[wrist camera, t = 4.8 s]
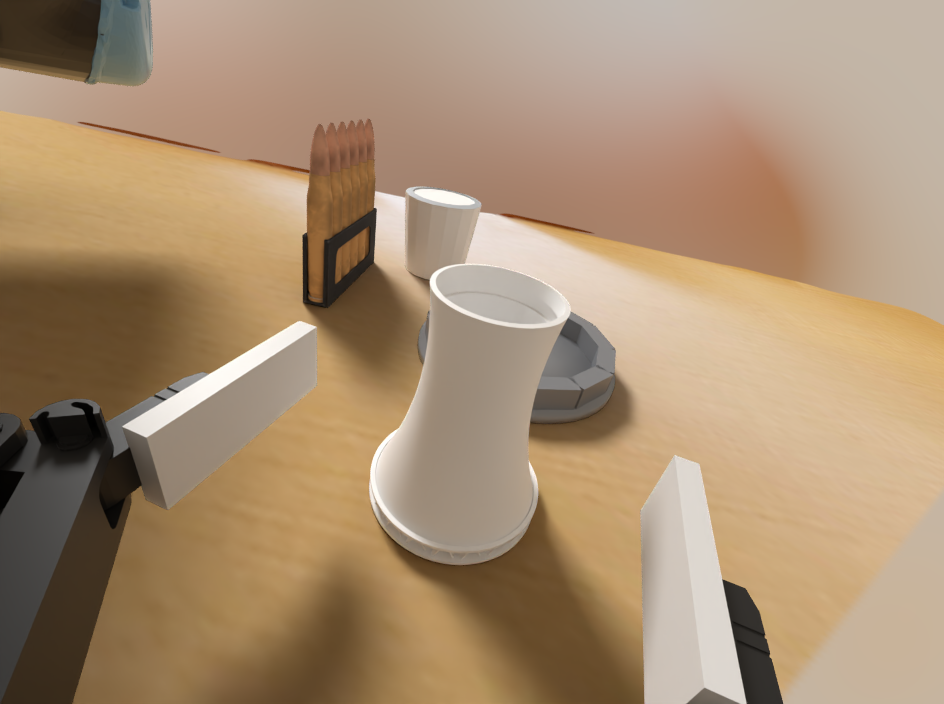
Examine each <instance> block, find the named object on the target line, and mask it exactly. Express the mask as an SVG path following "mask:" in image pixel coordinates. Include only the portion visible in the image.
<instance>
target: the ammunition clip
mask: <svg viewBox="0 0 944 704" xmlns="http://www.w3.org/2000/svg"><path fill="white" fill-rule="evenodd" d="M374 151H375V148H374V134H373V127H372V123H371V120H370V119H367V121H366V123H365V125H364V124H363V121H362V120H359V121H358V123H357V126H356V127H355V124H354V122H353V121H350V122H349V124H348V127H347V129H346V126H345V124H344V122H340V124H339V126H338V129H337V132H336V129H335V126H334V124H333V123H330V124H329V126H328V128H327V131H326V135H325V131H324V129H323V126H322V125H321V124H318V125H317V127H316V130H315V133H314V136H313V140H312V146H311V155H310V173H309V188H308V193H307V233H305V234H304V235H303V302H305V303H309V304H314V305H318V306H322V307H327V308H328V307H329V306H330V305H331V304H332V303H333V302H334V301H335V300H336V299H337V298H338V297H339V296H340V295H341V294H342V293H343V292H344V291H345V290H346V289H347V288H348V287H349V286H350V285H351V284H352V283H353V282H354V281H355V280H356V279H357V278H358V277H359V276H360V275H361V274H362V273H363V272H364V271H365V270H366V269H367V268H368V267H369V266H370V265H371V264H372V263H373V262H374V248H375V230H376V212H377V209H376V208H374V196H375V172H374Z"/></svg>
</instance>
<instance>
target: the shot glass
mask: <svg viewBox="0 0 944 704" xmlns="http://www.w3.org/2000/svg"><path fill="white" fill-rule="evenodd" d="M480 209H481V203H480V202H479V201H478V200H477V199H475V198H472V197H470V196H468V195H465V194H461V193H458V192H455V191H451V190H446V189H440V188H432V187H413V188H408V189H407V190H406V210H405V267H406V269H407V270H408V271H409V272H411V273H412V274H414V275H416V276H419V277H421V278H424V279H429V280H430V278H431V276H432V275H433V273H435V272H436V271H437V270H439V269H441V268H444V267H447V266H451V265H457V264H465V261H466V258H467V254H468V251H469V247H470V244H471V240H472V237H473V233H474V230H475V226H476V223H477V219H478V216H479V212H480Z"/></svg>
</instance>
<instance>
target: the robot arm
mask: <svg viewBox="0 0 944 704" xmlns="http://www.w3.org/2000/svg"><path fill="white" fill-rule="evenodd" d="M152 65H153V43H152V21H151V7H150V0H0V67H2V68H8V69H14V70H19V71H25V72H31V73H36V74H42V75H48V76H53V77H59V78H65V79H70V80H76V81H82V82H85V83H86V84H92V85H93V84H96V83H97V82H99V83H108V84H117V85H125V86H139V85H141V84H143V83H145V82H146V81H147V80H148V79H149V77H150V75H151V71H152ZM316 386H317V327H315V326H312V325H310V324H307V323H304V322H301V321H298V322H296V323H295V324H293V325H291V326H289V327H288V328H286V329H284V330H283V331H281V332H279V333H278V334H276V335H274V336H273V337H271V338H269V339H268V340H266V341H264V342H263V343H261V344H259V345H258V346H256V347H254V348H253V349H251V350H249V351H248V352H246V353H244V354H243V355H241V356H239V357H237V358H236V359H234V360H232V361H231V362H229V363H227V364H226V365H224V366H222V367H221V368H219V369H217V370H216V371H214V372H212V373H211V374H207V373H204V372H201V373H198V374H195V375H192V376H188V377H185V378H183V379H181V380H179V381H178V382H176V383H174V384H172V385H170V386H169V387H168V388H167V389H163V390H162V391H160V392H158V393H156V394H155V396H154V397H152V396H151V397H149V398H148V399H146V400H144V401H142V402H141V403H139V404H137V405H135V406H134V407H132V408H130V409H128V410H127V411H125V412H123V413H121V414H120V415H118V416H116V417H114V418H113V419H111V420H109V421H107V422H106V423H105V420H104V417H103V414H102V411H101V409H100V406H99V405H98V404H97V403H96V402H94V401H91V400H88V399H70V400H64V401H59V402H56V403H53V404H50V405H47V406H46V407H44V408H42V409H40V410H38V411H37V412H35V413H34V414H33V415H32V416H31V417H30V418H29V420H30V422H31V424H32V426H33V429H34V431H31V430H25V428H24V426H23V424H22V422H21V420H20V419H19V418H18V417H16V416H15V415H13V414H7V413H0V704H72V702H73V699H74V696H75V692H76V689H77V685H78V682H79V679H80V675H81V672H82V668H83V665H84V662H85V658H86V655H87V652H88V648H89V645H90V641H91V638H92V635H93V631H94V628H95V624H96V621H97V618H98V614H99V611H100V608H101V604H102V601H103V597H104V594H105V591H106V587H107V584H108V580H109V577H110V574H111V570H112V567H113V564H114V560H115V557H116V553H117V550H118V547H119V543H120V540H121V536H122V533H123V530H124V526H125V523H126V520H127V516H128V513H129V509H130V506H131V494H130V493H132V492H133V491H134V490H136V489H137V488H139V487H140V486H142V490H143V493H144V496H145V499H146V500H147V501H150V502H152V503H154V504H156V505H158V506H160V507H162V508H164V509H166V510H169V509H170V508H171V507H173V506H174V505H175V504H176V503H177V502H178V501H180V500H181V499H182V498H183V497H184V496H186V495H187V494H188V493H189V492H190V491H192V490H193V489H194V488H195V487H196V486H198V485H199V484H200V483H201V482H202V481H204V480H205V479H206V478H207V477H208V476H210V475H211V474H212V473H213V472H214V471H216V470H217V469H218V468H219V467H220V466H222V465H223V464H224V463H225V462H226V461H228V460H229V459H230V458H231V457H232V456H233V455H235V454H236V453H237V452H238V451H239V450H241V449H242V448H243V447H244V446H245V445H247V444H248V443H249V442H250V441H251V440H253V439H254V438H255V437H256V436H257V435H259V434H260V433H261V432H262V431H263V430H265V429H266V428H267V427H268V426H269V425H271V424H272V423H273V422H274V421H275V420H277V419H278V418H279V417H280V416H281V415H283V414H284V413H285V412H286V411H287V410H288V409H290V408H291V407H292V406H293V405H294V404H296V403H297V402H298V401H299V400H300V399H302V398H303V397H304V396H305V395H306V394H308V393H309V392H310V391H311V390H312V389H314V388H315V387H316ZM640 515H641V561H642V607H643V654H644V700H645V704H783V701H782V697H781V693H780V689H779V686H778V682H777V678H776V674H775V670H774V666H773V663H772V659H771V658H770V657H769V655H770V651H769V647H768V643H767V639H765V632H764V628H763V624H762V620H761V616H760V613H759V610H758V609H757V607H756V605H755V604H754V602H753V600H752V599H751V597H750V595H749V594H748V592H747V590H746V589H745V588H743V587H740V586H738V585H735V584H733V583H730V582H728V581H725V580H723V579H722V576H721V571H720V566H719V561H718V556H717V551H716V546H715V541H714V536H713V531H712V526H711V521H710V515H709V510H708V505H707V500H706V495H705V490H704V485H703V480H702V475H701V470H700V465H699V464H698V463H695V462H692V461H690V460H687V459H684V458H681V457H679V456H676V455H674V457H673V459H672V460H671V462H670V463H669V465H668V467H667V468H666V470H665V471H664V473H663V475H662V476H661V478H660V480H659V481H658V483H657V484H656V486H655V488H654V489H653V491H652V493H651V494H650V496H649V497H648V499H647V501H646V502H645V504H644V505H643V507H642V509H641V510H640Z"/></svg>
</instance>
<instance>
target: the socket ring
mask: <svg viewBox="0 0 944 704" xmlns="http://www.w3.org/2000/svg"><path fill="white" fill-rule="evenodd" d="M429 320H430V311H429V312H428V314H427V320H426V322H425V323H424V324H423V326H422V328H421V330H420V333H419V339H418V353H419V357H420V360H421V362H422V364H423V365H424V361H425V355H426V349H427V342H428V333H429ZM615 355H616V350H615V348H614V347H613V346H612V345H611V344H610V342H609V341H608V340H607V339H606V338H605V337H604V335H603V334H602V333H601V332H600V331H599V330H598V329H597V327H596V326H593V324H592V323H590V322H588V321H587V320H585V319H583V318H581V317H580V316H578V315H576V314H574V313H572V312H570V315H569V317H568V319H567V321H566V322H565V324H564V326H563V328H562V330H561V332H560V334H559V336H558V338H557V340H556V342H555V344H554V346H553V348H552V350H551V353H550V355H549V357H548V359H547V362H546V365H545V367H544V370H543V372H542V375H541V378H540V381H539V384H538V388H537V391H536V395H535V399H534V403H533V408H532V413H531V418H530V422H531V423H544V424H554V423H566V422H573V421H577V420H581V419H584V418H587V417H589V416H591V415H593V414H595V413H597V412H598V411H599V410H601V409H602V408H603V407H604V406H605V405H606V403H607V402H608V400H609V398H610V396H611V394H612V392H613V390H614V385H615V375H614V372H615Z"/></svg>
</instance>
